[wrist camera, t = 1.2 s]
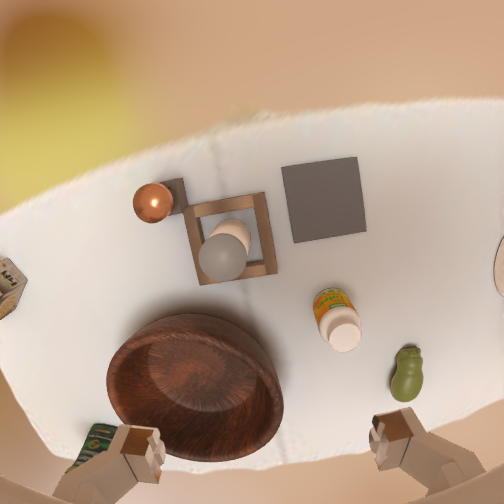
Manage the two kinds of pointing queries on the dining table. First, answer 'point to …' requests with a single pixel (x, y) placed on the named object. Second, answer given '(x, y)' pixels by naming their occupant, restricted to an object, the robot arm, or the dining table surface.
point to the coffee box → (10, 287)
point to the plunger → (153, 202)
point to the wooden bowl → (197, 387)
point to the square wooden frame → (221, 206)
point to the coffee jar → (94, 444)
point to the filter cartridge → (225, 251)
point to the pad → (324, 199)
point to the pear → (407, 375)
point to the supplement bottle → (337, 320)
